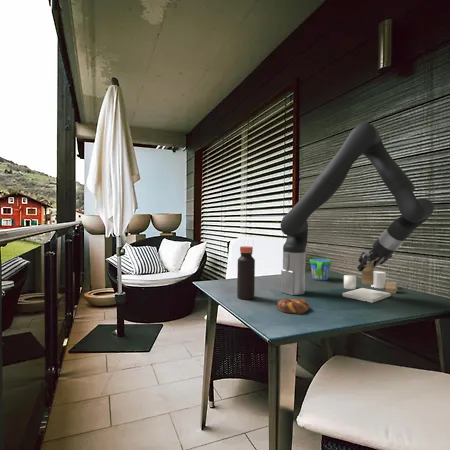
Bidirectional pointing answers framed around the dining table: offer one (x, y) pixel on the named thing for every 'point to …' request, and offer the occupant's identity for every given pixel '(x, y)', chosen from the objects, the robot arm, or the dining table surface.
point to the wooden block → (391, 287)
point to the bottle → (246, 274)
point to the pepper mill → (368, 273)
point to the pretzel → (293, 305)
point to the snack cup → (320, 269)
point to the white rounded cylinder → (349, 282)
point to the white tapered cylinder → (379, 279)
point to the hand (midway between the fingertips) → (363, 269)
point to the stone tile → (366, 295)
